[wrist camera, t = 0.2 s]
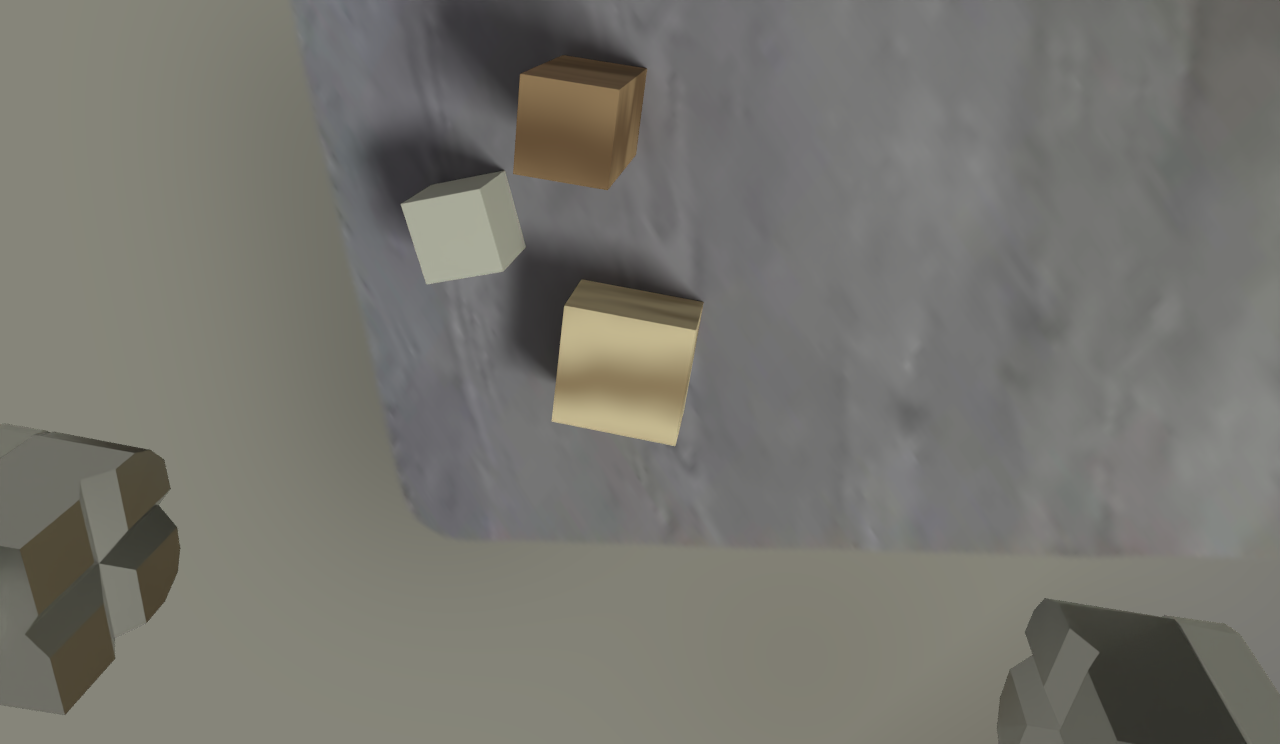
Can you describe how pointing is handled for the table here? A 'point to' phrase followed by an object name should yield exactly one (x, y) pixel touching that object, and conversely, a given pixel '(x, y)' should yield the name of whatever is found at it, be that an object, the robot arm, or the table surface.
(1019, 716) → the robot arm
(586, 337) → the oak block
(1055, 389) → the table surface
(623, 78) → the walnut block
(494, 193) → the grey cube
